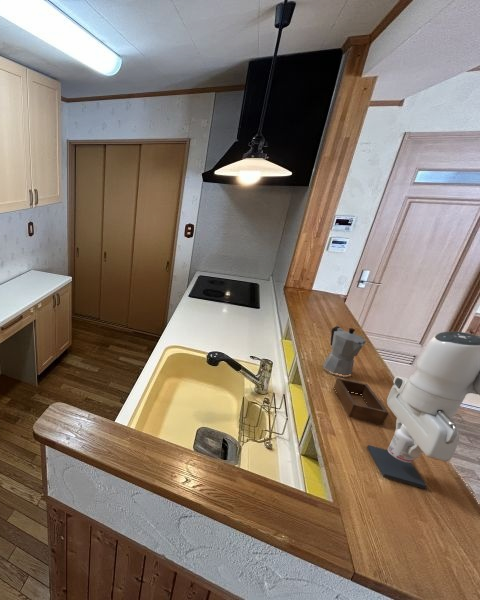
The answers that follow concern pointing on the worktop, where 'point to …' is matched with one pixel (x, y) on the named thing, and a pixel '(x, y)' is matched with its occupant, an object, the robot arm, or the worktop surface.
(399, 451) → the pill bottle
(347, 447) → the worktop surface
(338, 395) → the storage crate
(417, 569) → the worktop surface
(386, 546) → the worktop surface
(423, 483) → the rubber mat
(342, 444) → the worktop surface
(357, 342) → the coffeepot
